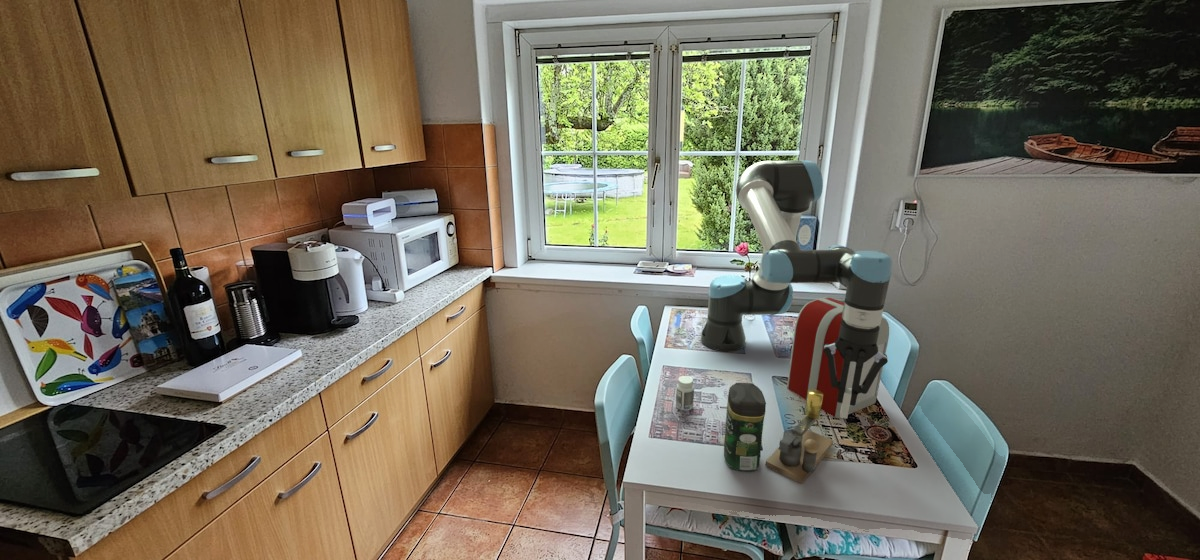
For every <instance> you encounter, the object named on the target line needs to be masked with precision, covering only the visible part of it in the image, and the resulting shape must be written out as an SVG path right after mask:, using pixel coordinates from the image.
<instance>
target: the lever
mask: <svg viewBox="0 0 1200 560" xmlns="http://www.w3.org/2000/svg"><path fill="white" fill-rule="evenodd" d="M822 400H823V393H822V392H821V391H818V390H809V392H808V399H807V401H806V407H805V413H804V414H805V416H804V418H803V419H802V420H801V421H800V422H799V423H798V424H797V425H796V426H795V427H794V429H787V430H784V431H783V435H782V439H780V440H779V446H778V448H779V450H781V451H783V452H785V453H787V454H788V453H789V451H790V450H791V449H792V448H798V447H800V446H801V444H802V436H803V435H804V434H805V432H806V431H807V430H810V429H811V427H812V426H813V425H814V423H816V420H817V419H818V420H819V419H820V417H821V411H822V409H821V406H822Z"/></svg>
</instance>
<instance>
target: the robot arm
mask: <svg viewBox="0 0 1200 560" xmlns="http://www.w3.org/2000/svg"><path fill="white" fill-rule="evenodd" d="M823 182H824V181H823V175H822V170H821V168H820V166H819V165H818V164H817V163H816V162H815V161H813V160H802V159H799V160H763V161H757V162H755V163H752V165H750V166H748V167H747V168H746V169H745V170H743V172H742V173H741V174H740V177H739V178H738V180H737V183H736V188H735V192H736V193H735V194H736V198H737V201H738V203H739V205H740V207H741V208H743V209H745V210H746V212H747V214H748V216H749V218H750V221H751V223H752V225H753V228H754V230H755V232H756V234H757V236H758V239H759V240H760V244H761V246H762V248H763V251H762V255H761V260H760V264H759V269H758V270H757V271H755V272H754V273H753V275H752V279H751V280H746V278H745V277H744V276H741V275H738V274H737V275H735V274H726V275H720V276H717V277H715V278H714V279H712V281H711V282H710V283H709V290H708V294H707V295H708V304H707V305H708V306H707V320H706V322H705V324H704V326H703V329H702V331H701V335H700V341H701V343H702V344H703V345H705V346H706V347H708V348H710V349H712V350H715V351H716V350H717V351H720V352H721V351H722V352H735V351H739V350H740V349H743V348H744V347H745V345H746V338H747V337H746V334H745V330H744V326H743V316H751V315H752V316H762V315H764V316H766V315H767V316H769V315H770V316H775V315H782V314H786V312H787V311H789V309H790V308H791V306H792V304H793V303H792V302H793V299H794V296H793V295H794V291H793V290H794V288H793V286H792V284H802V283H807V284H808V283H813V284H815V283H816V284H817V283H838V284H840V285H841V286H843V287H845V288H846V290H845V297H844V302H843V303H844V307H843V314H842V318H843V320H842V321H841V325H840V331H839V337H838V338H837V339H836V341H835V343H833V344H830V345H829V344H825V345H824V352H825V354H826V356H827V358H828V365H829V373H830V381H831V386H832V387H836V388H837V389H838V390H839V391H838V397H837V401H838V402H839V403H842V405H841V411H840V417H841V418H842V419H846V420H848V416H849V414H848V411H849V406H850V405H853V406H854V405H855V404H856V399H857V395H858V394H859V393H863V394H866V393H867V392H868V390H869V388H870V387H871V385H872V383H873V381H874V379H875V377H876V376H877V374H878V372H879V370H880V368H881V367H882V366H883V367H884V366H885V365H886V364H887V363H888V355H887V354H882V353H881V352H879V351H878V346H877V340H878V335H879V330H880V327H879V325H880V324H881V319H882V317H883V314H884V313H883V312H884V307H885V304H886V299H887V294H888V290H889V289H888V288H889V285H890V281H891V277H892V265H893V259H892V257H891V256H890V255H888V254H886V253H885V252H879V251H876V250H857V251H855V250H854V249H852V248H849V247H847V246H844V245H838V244H836V245H831V246H829V247H827V248H825V249H802V248H801V247H800V245H799V244H798V242H797V239H796V237H797V234H798V231H799V226H800V223H801V219H802V215H803V214H804V213H806V212H808V211H809V208H810V205H811V202H813V203H814V202H817V201H819V199H820V198H821V197H822V195H823V189H824V188H823V187H824V185H823ZM836 348H837V350H838V351H839V353H840V354H841V356H842V358H843V359H844V362H843V368H842V373H841V379H840V381H838V380H837V374H836V366H835V358H834V354H835V351H836V350H835V349H836ZM874 355H875V357H874V360H875V361H874V363H873V365H872V367H871V368H870V370H869V372H868V374H867V376H866V378H865V380H864V381H863V383H862V385H859V384H860V379H861V373H862V368H863V363H864V362H866V361H868V360H869V359H870V358H872V357H873V356H874ZM850 362H856V368H855V373H854V379H853V384H852V389H851V388H847V387H846V382H847V377H848V371H849V366H850ZM841 418H840V419H841Z"/></svg>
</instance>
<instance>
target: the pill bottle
mask: <svg viewBox="0 0 1200 560" xmlns="http://www.w3.org/2000/svg"><path fill="white" fill-rule="evenodd" d="M675 389H676V390H675V391H676V392H675V394H676V395H675V407H676V409H678V410H681V411H690V410H692V409H693V408H694V396H695V386H694V379H693V378H692V377H691V376H688V375H682V376H679V377H678V380H677V385H676V388H675Z"/></svg>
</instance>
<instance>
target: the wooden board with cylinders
mask: <svg viewBox="0 0 1200 560" xmlns="http://www.w3.org/2000/svg"><path fill="white" fill-rule="evenodd" d="M833 445H834V440H833V439H830V438H829V437H826V436H824V435H821V434H819V433H816V432H814V431H812V430H810V429H808V430H807V431H806V432H805V434H804V435H803V436H802V444H801V446H800V447H798V448H792V449H791V450H790V451H789V453H788V454H787V453H785V452H783V451H781V450H779V447H778V448H777V449H776V450H774V452H773V453H772V454H771V455H770V456H769V457H768V458H767V459H766V460H765V463H764V464H765V466H766V467H768V468H770V469H772V470H774V471H776V472H778V473H780V474H782V475H783V476H786V477H788V478H790V479H791V480H794V481H796V482H798V483H800V484H801V485H802V484H803V483H804V482H805V481H806V480H807V478H808V477H809V475H810V474H812V473H814V471H815V468H816V467H817V466H818V464H819V463H820V462H821V460H823V458H824V456H825V455H826V454H827V452H828V451H830V449H831V448H832V446H833Z"/></svg>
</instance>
